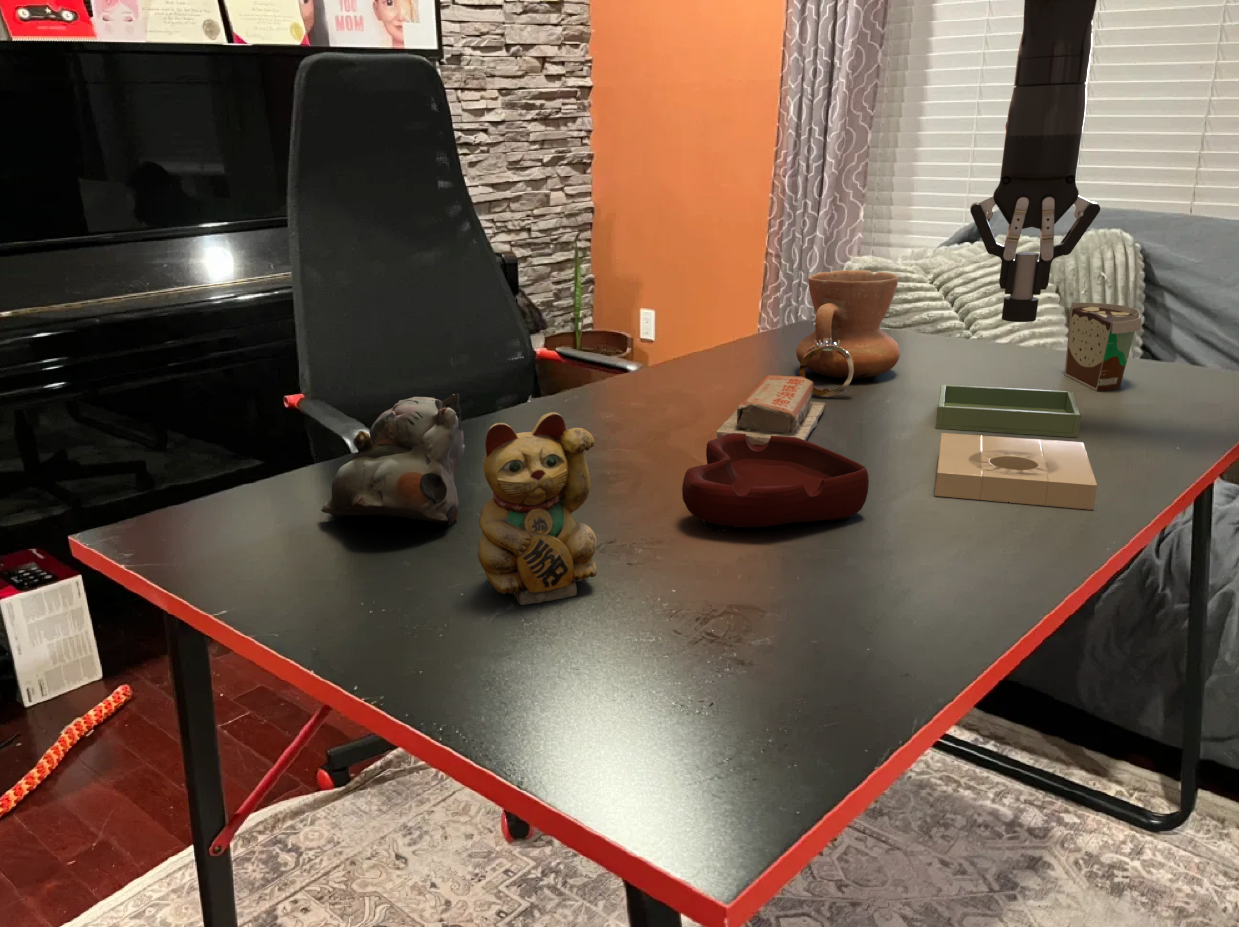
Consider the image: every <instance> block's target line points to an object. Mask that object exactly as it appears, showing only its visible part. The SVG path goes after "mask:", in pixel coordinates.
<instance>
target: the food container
mask: <svg viewBox="0 0 1239 927" xmlns="http://www.w3.org/2000/svg"><path fill="white" fill-rule="evenodd" d="M1067 317H1068V318H1069V323H1068V332H1067V333H1068V334H1067V343H1066V354H1065V365H1064V374H1063V376H1065V377H1067V378H1070V379H1072V380H1074V381H1076V383H1077V382H1078V383H1079V384H1080V385H1083V386H1085V387H1087V388H1090V390H1094V391H1095V392H1107V391H1113V390H1116V389H1118V388H1120V387H1121V386H1122V381H1123V378H1124V373H1125V369H1126V366H1127V362H1128V358H1129V355H1130V351H1131V348H1132V343H1133V340H1134V336H1135V333H1136V332H1137V331H1140V330H1141V329H1142V316H1141V315H1140V310H1139V309H1137V308H1134V307H1131V306H1126V305H1120V304H1115V303H1104V302H1102V303H1101V302H1071V304H1070V307H1069V310H1068V315H1067Z"/></svg>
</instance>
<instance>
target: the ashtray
mask: <svg viewBox="0 0 1239 927" xmlns="http://www.w3.org/2000/svg"><path fill="white" fill-rule="evenodd" d="M705 458H706V464H701V465H696V466H693V467H692V466H691V467H690V468H688V469H686V471H685V474H684V477H683V480H682V485H681V486H682V488H681V493H682V496H681V497H682V501H683V503H684V505H685V507H686V509H687V511H688V512H689V513H691V515H693V517H695V518H697V519H698V520H701V521H703V527H704V528H705V529H707V530H710V531H713V532H728V531H732V530H734V529H736V528H737V527H738V528H761V527H762V528H763V527H770V526H771V527H773V526H778V525H785V524H793V523H809V522H820V521H821V522H822V521H833V522H834V521H835V522H839V521H845V520H848V519H850V518H851V517H853V516H855V515H857V514H858V513H859V512H860V511H861V510H862V509H863V507H864V505H865V503H866V501H867V498H868V493H869V486H870V480H869V471H868V469H867V468H866V467H865V466H864V465H863V464H860V463H859V462H857V461H854V460H852V459H851V458H848V457H847V456H844V455H842V454H839V453H838V452H835V451H832V450H830V449H828V448H825V447H822V446H820V445H817V444H815V443H813V442H811V441H808V440H807V439H806V440H803V439H800V438H797V437H787V436H771V438H770V440H769V441H768V443H766V444H765V445H753V444H751V443H750V442H749V440H748V439H747V436H746V434H743V433H729V434H726V435H724V436H722V437H720V438H714V439H710V440H709V441H707V443H706V451H705Z"/></svg>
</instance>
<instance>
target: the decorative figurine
mask: <svg viewBox="0 0 1239 927" xmlns="http://www.w3.org/2000/svg"><path fill="white" fill-rule="evenodd" d="M595 444H596V442H595V438H594V436H593V435H592V434H591V433H590V431H588V430H587V429H584V428H582V427H573V428H569V429H567V426H566V422H565V419H564V418H563V417H562V415H561V414H560V413H557V412H555V411H554V412H553V411H552V412H548V413H546V414H545V413H544V414H543V415H542V416H541V417H540V418H539V420H537V422H536V424H535V426H534V428H533V429H532V431H525V432H518V433H516V432H515V430H514V429H513V427H511V425H509V424H507V423H505V422H496V423H494V424H492V425H491V426H490V427H489V429H488V430H487V432H486V435H485V444H484V447H485V456H484V460H483V472H484V477H485V479H486V482H487V484H488V487H489V488H490V489H491V491H492V498H490V499H489V500H488V501H487V502H486V503H485V504H484V505H482V508H481V511H480V512H479V518H478V524H479V528H480V530H481V532H482V535H481V537H480V539H479V542H478V550H477V554H478V555H477V557H478V561H479V563H480V566H481V568H482V569H483V571H484V573H485V575H486V578H487V580H488V581H489V584H490V585H491V586H492V587H493V588H494V589H495V590H496V591H497V592H498V593H500V594H502V595H503V594H505V595H506V594H513V596H514V597H515V598H516V601H517V602H518V604H520V605H529V604H542V603H544V602H549V601H556V600H560V599H566V598H572V597H575V596H577V593H578V592H577V590H578V589H577V582H581V581H582V580H588V579H589V578H594V577H596V576H597V573H598V572H597V570H598V569H597V564H596V563H595V561H594V559H593V557H594V555H595V554H596V550H597V546H598V540H597V536H596V534H595V532H594V530H592V528H591V527H590V525H587V524H585V523H583V522H578V521H576V520H575V517H574V516H573V513H574V512H576V511H578V509H580V508H581V506H583V504H585V502H586V501H587V499H588V497H589V494H590V490H591V475H590V472H589V468H588V465H587V461H586V456H585V452H586V451H587V452H588V451H589V450H590V449H591V448H593V447H594V446H595Z"/></svg>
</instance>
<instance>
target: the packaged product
mask: <svg viewBox="0 0 1239 927" xmlns="http://www.w3.org/2000/svg"><path fill="white" fill-rule="evenodd" d="M813 386H814V381H812V379H808V378H807V379H806V378H804V377H801V376H800V375H799V376H797V375H776V374H775V375H773V374H769V375H765V376H764V377H763V378H761V380H759V382H758V383H757V384H756V386H754V387H753V389H752V390H751V392H749V394H748V395H747V396H746V397H745V398H744V400H742V401H741V402H740V403H739V405H738V406H737V409H736V410H735V411H734V412H733V413H732V414H731V415H730V416H729V418H728V419H726V420H725V421H724V423H723V424H722V425H721V426H720V427H719V428H718V429H717V430H716V437H717V438H716V439H718V438H720V437H722V436H724V435H726V434H729V433H743V434H746V436H747V439H748V440H749V442H750V443H751V444H753V445H755V446H762V445H765V444H766V443H768V441H769V440H770V438H771V436H787V437H797V438H800V439H803V440H806V441H807V439H808V437H809V435H810V434H811V432H812V431H813V429H815V428H816V427H817V426H818V421H819V418H820V417H821V415H822V413H823V412H824V410H825V407H826V406H827V405H826V404H827V403H826V402H820V401H811V400H812V397H813V393H812V392H813Z"/></svg>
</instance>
